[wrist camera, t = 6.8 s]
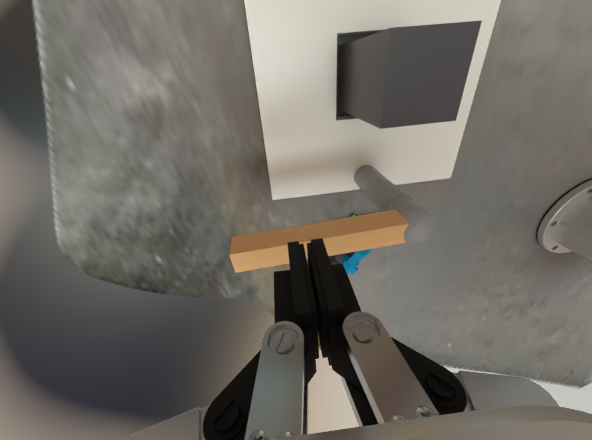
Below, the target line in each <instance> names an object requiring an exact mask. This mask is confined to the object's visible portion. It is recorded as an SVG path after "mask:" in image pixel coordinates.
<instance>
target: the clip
mask: <svg viewBox="0 0 592 440" xmlns="http://www.w3.org/2000/svg"><path fill="white" fill-rule="evenodd" d="M437 228H438V223H437V221H436V219H435V218H434V217H432V216H431V215H430V214H429V213H428V212H426V211H425V210H424V209H423V208H422V207H420V206H419V205H418V204H417V203H416V202H414V201H413V200H412V199H411V198H409V197H406V196H402V197H398V198H396V199H394V200H392V201H391V202H390V203H389V204H388V206H387V207H386V210H385V211H383V212H377V213H371V214H365V215H359V216H353V217H347V218H341V219H336V220H330V221H324V222H318V223H312V224H306V225H300V226H295V227H289V228H283V229H277V230H271V231H265V232H259V233H253V234H248V235H242V236H236V237H232V243H231V249H230V254H229V255H230V258H231V261H232V264H233V267H234V269H235V272H236V273H237V272H243V271H248V270H254V269H260V268H265V267H271V266H277V265H282V264H288V263H289V253H288V243H287V242H294V241H299V244H304V249H305V254H306V259H307V260H308V254H307V243H311V239H320V238H322V239H323V241H324V244H325V247H326V250H327V254H328V256H333V255H339V254H345V253H350V252H356V251H362V250H367V249H373V248H379V247H384V246H390V245H396V244H401V243H408V244H410V245H420V244H423V243H425V242H427V241H428V240H430V239H431V238H432V237H433V236H434V235H435V233H436V231H437Z"/></svg>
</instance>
